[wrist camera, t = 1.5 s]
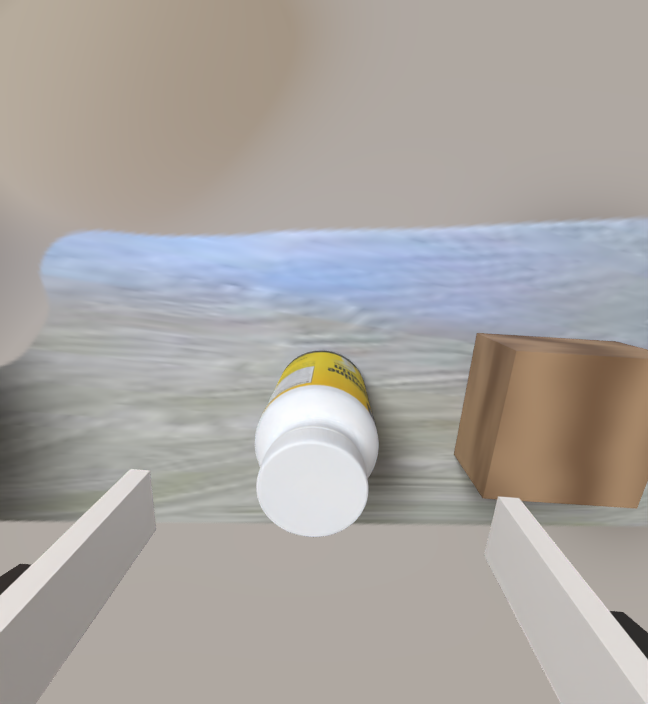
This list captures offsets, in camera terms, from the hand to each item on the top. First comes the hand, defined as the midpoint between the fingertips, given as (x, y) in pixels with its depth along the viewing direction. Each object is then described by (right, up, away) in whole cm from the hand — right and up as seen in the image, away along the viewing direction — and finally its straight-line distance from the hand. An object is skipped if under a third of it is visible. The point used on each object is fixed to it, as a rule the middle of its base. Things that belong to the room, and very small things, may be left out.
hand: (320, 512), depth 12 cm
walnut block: (+16, +2, +12) cm, 20 cm away
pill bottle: (0, +3, +12) cm, 13 cm away
